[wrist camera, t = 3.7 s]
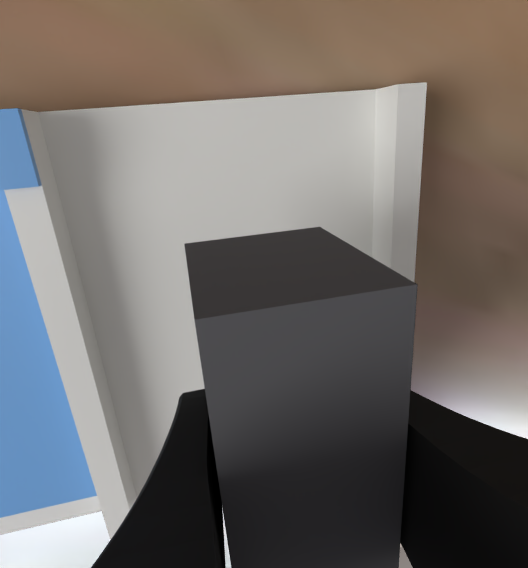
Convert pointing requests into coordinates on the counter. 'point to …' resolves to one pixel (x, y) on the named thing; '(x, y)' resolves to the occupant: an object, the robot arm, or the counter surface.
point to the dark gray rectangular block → (305, 396)
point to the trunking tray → (161, 262)
